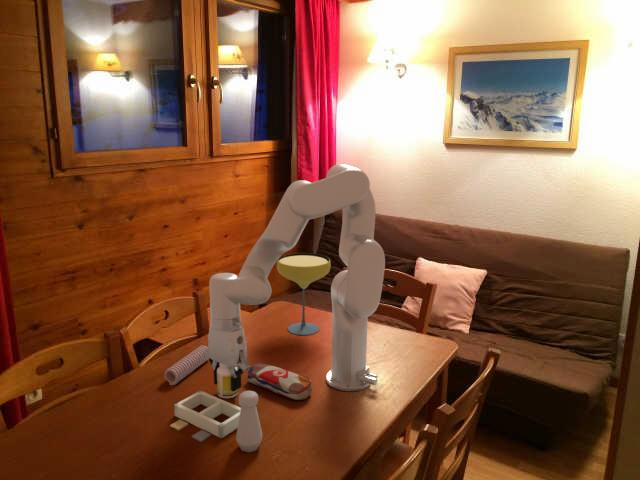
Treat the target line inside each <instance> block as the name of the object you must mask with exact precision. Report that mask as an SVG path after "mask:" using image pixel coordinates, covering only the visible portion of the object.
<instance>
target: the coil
mask: <svg viewBox="0 0 640 480" xmlns="http://www.w3.org/2000/svg"><path fill="white" fill-rule="evenodd" d="M207 349H208V346H206V345H200V346H198V347H196V348H195V349H194V350H193V351H191V352H190V353H188V354H187V355H185V356H184V357H182V358H181V359H180V360H178V361H177V362H175V363H174V364H173V365H171V366H170V367H168V368H167V369H166V370H165V371H164V378H165V380H166V381H167V383H169V384H168V386H176V384H179V382H180V381H181V380H183V379H185V377H187V376H188V375H190V374H191V373H192V372H194V371H195V370H197V368H199V367H200V366H202V365H203V364H204V363H205V362H207V361H209V359H208V357H207V356H206V354H205V352H206V351H207Z"/></svg>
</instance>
